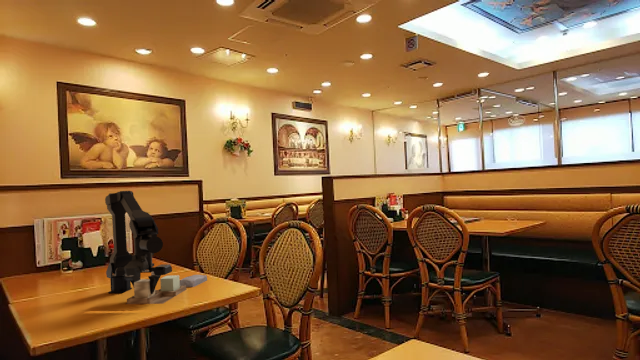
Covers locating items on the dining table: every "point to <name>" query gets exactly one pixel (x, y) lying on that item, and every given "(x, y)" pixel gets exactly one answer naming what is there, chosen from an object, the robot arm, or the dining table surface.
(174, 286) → the sage block
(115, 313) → the dining table surface
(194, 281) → the stone block
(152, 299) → the walnut base board
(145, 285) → the oak block
